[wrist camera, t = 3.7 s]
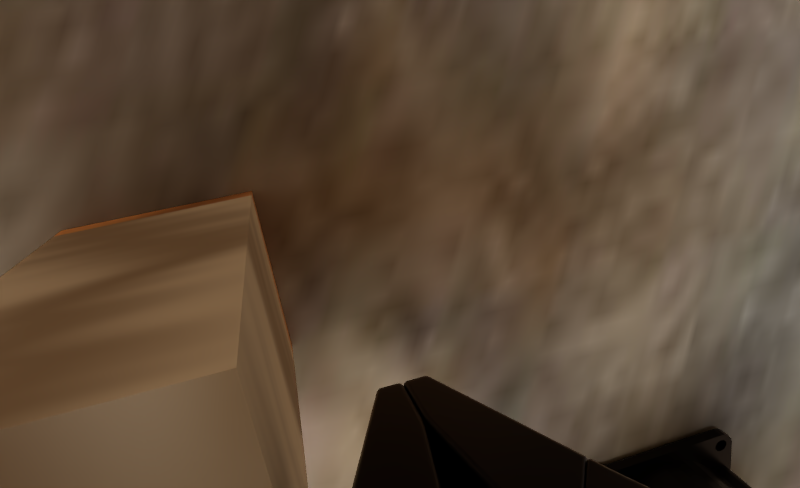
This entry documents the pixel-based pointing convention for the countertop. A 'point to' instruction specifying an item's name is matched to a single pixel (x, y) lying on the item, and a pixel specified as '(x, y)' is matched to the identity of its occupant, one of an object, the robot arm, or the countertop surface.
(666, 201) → the countertop surface
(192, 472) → the birch block
